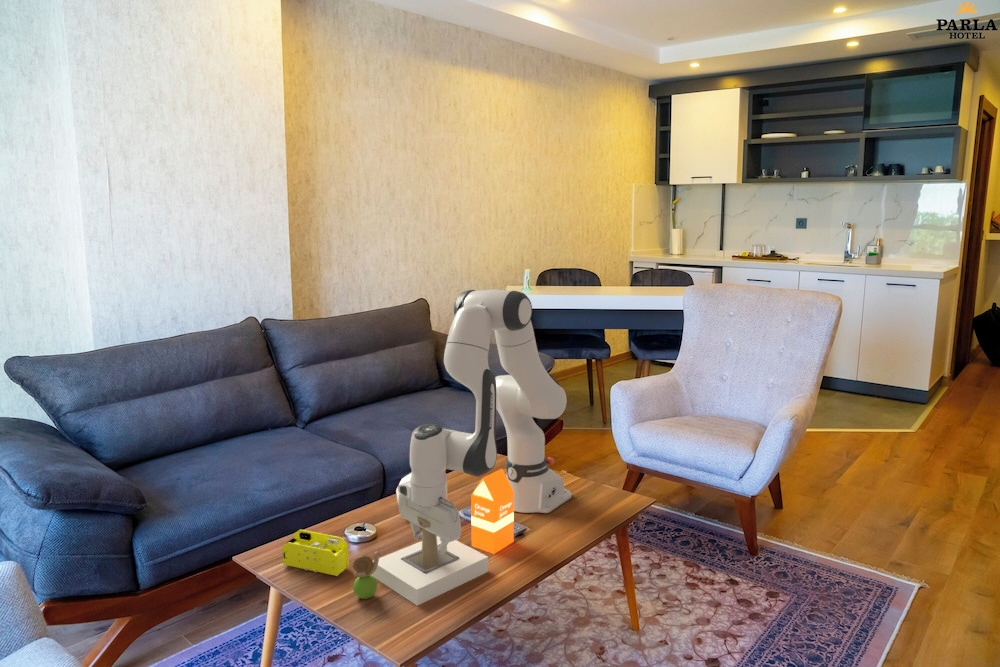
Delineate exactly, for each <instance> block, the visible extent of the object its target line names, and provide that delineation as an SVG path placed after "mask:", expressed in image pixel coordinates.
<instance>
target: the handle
mask: <svg viewBox="0 0 1000 667" xmlns="http://www.w3.org/2000/svg"><path fill="white" fill-rule="evenodd" d="M417 520H418V523H419V524H420V526H422V527H423V528H422V532H423V534H422V539H421V541H422V564H423V567H422V568H423V569H425V570H428V569H430V568H432V567H434V566H437V565H439V564H438V547H437V536H436V535H434V534H433V533H431V532H429V531H427V530H425V529H424V528H429V527H430V526H431V523H430V522H428V521H426V520H424V519H422V518H420V517H418V516H417Z"/></svg>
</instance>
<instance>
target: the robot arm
mask: <svg viewBox="0 0 1000 667" xmlns="http://www.w3.org/2000/svg"><path fill="white" fill-rule="evenodd" d="M453 315H454V317H453V320H452V323H451V325H450V328H449V331H448V335H447V339H446V344H445V348H444V354H443V364H444V368H445V370H446V372H447V374H448V375H449V376H450V377H451V378H452V379H454V380H455V381H456V382H458V383H460V384H461V385H463V386H464V387H466V388H468V390H470V391H471V392H472V394H473V395H474V397H475V423H474V424H475V426H474V427H475V428H474V429H475V430H474V432H473V433H470V432H464V431H458V430H454V429H447V428H444V427H442V426H441V425H439V424H437V423H426V424H422V425H418V426H417V427H416V428H414V430H413V431H412V432H411V437H410V445H409V467H410V469H411V473H412V475H411V479H410V481H407V482H405V483H402V484H400V485H399V484H398V486H397V487H398V492H399V493H400V494H399V504H398V512H399V514H400V515H399V516H400V517H401V518H403V519H404V520H406V521H408V522H409V524H410V527H411V531H412V533H413V539H415V540H416V541H420V540H421V541H422V534H423V530H421V529H423V527H422V526H420V524H419V523H418V520H417V516H418V517H420V518H422V519H424V520H426V521H428V522H430V523H431V526H430V527H429V528H424V529H425V530H427V531H429V532H431V533H433V534H434V535H436V536H438V537H440V541H441V544H439V545H437V547H438V552H440V553H442V554H443V553H445V552H447V545H448V543H449V542H452V541H454V540H457V541H458V539H460V538H461V536H462V525H461V523H462V522H461V517H460V512H459V509H458V508H457V507H456V505H455V503H453V502H452V501H449V500H448V476H447V474H446V471H447V470H449V471H455V472H459V473H460V472H461V473H464V474H467V475H470V476H473V477H476V478H481V477H483V476H485V475H486V474H488V473H489V472H490V471H492V470H493V469H494V468H495V466H496V463H497V460H498V448H497V438H496V436H497V435H496V429H497V412H498V415H500V418H501V421H502V423H503V425H504V427H505V433H506V437H507V438H506V439H507V440H506V441H507V457H506V462H505V467H506V468H505V471H506V473H505V475H506V477H507V479H508V481H509V483H510V485H511V487H512V489H513V491H514V512H517V513H525V514H526V513H527V514H529V513H543V514H547V513H550V512H552V511H553V510H555V509H556V508H558V507H559V506H561V505H562V504H564V503H565V502H567V501H568V500H570V499H571V498H572V497H573V496H572V493H571V491H570V490H567V489H566V488H565V484H564V480H563V478H562V477H561V476H560V475H559V474H558V473H557V472H555V471H553V470H552V469H551V468H549V465H551V466H552V465H554V463H555V460H556V459H555V458H553V457H551V456H548V457H546V456H545V451H546V448H545V447H546V445H545V444H546V438H545V433H544V431H543V430H542V428H540V427H539V425H537V423H536V422H535V420H534V419H533V418H536V419H541V420H555V419H558V418H559V417H561V415H563V414H564V412H565V410H566V407H567V394H566V391H565V389H564V388H563V387H562V386H560V385H559V384H558V383H557V382H556V381H555V380H554V379H553V378H552V377H551V376H550V374H549V373H548V371H547V370H546V368H545V366H544V365H543V363H542V361H541V358H540V355H539V351H538V345H537V342H536V336H535V331H534V327H533V323H532V320H531V319H532V317H533V316H532V315H533V305H532V302H531V300H530V298H529V297H528V296H527V295H526V294H525V293H524V292H521V291H517V290H506V289H497V288H494V289H493V288H492V289H479V290H475V289H471V290H470V289H469V290H465V291H461V293H459V295H458V296H457V297H456V299H455V302H454V304H453ZM492 331H494V336H495V342H496V347H497V353H498V356H499V363H500V365H501V367H502V369H503V370H505V372H507V373H508V374H504V375H503V374H502V375H497V376H495V373H494V372H493V371H492V370H491V369H490V365H489V353H490V352H489V350H490V345H491V344H490V343H491V339H492V338H491V337H492V335H491V334H492Z"/></svg>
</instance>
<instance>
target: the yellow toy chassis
mask: <svg viewBox="0 0 1000 667" xmlns="http://www.w3.org/2000/svg"><path fill="white" fill-rule="evenodd" d="M281 548H282V549H281V551H282V565H283V566H284V565H285V566H289V567H293V568H297V569H302V570H303V569H304V570H305V571H313V572H314V573H315V574H316V573H321V574H326V575H332V576H336V577H339V575H340V574H341V573H343V572H344V571H345V570H346V568H349V566H350V563H349V544H348V543H347V542H346V540H344V539H343V537H341V536H336V535H330V534H325V533H319V532H316V531H310V530H306V529H305V530H304V529H299V530H297V531H295V532H294V533H293V538H291V539H290V540H289V541H287V542H286V543H285V544H283V545H282V546H281Z"/></svg>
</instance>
